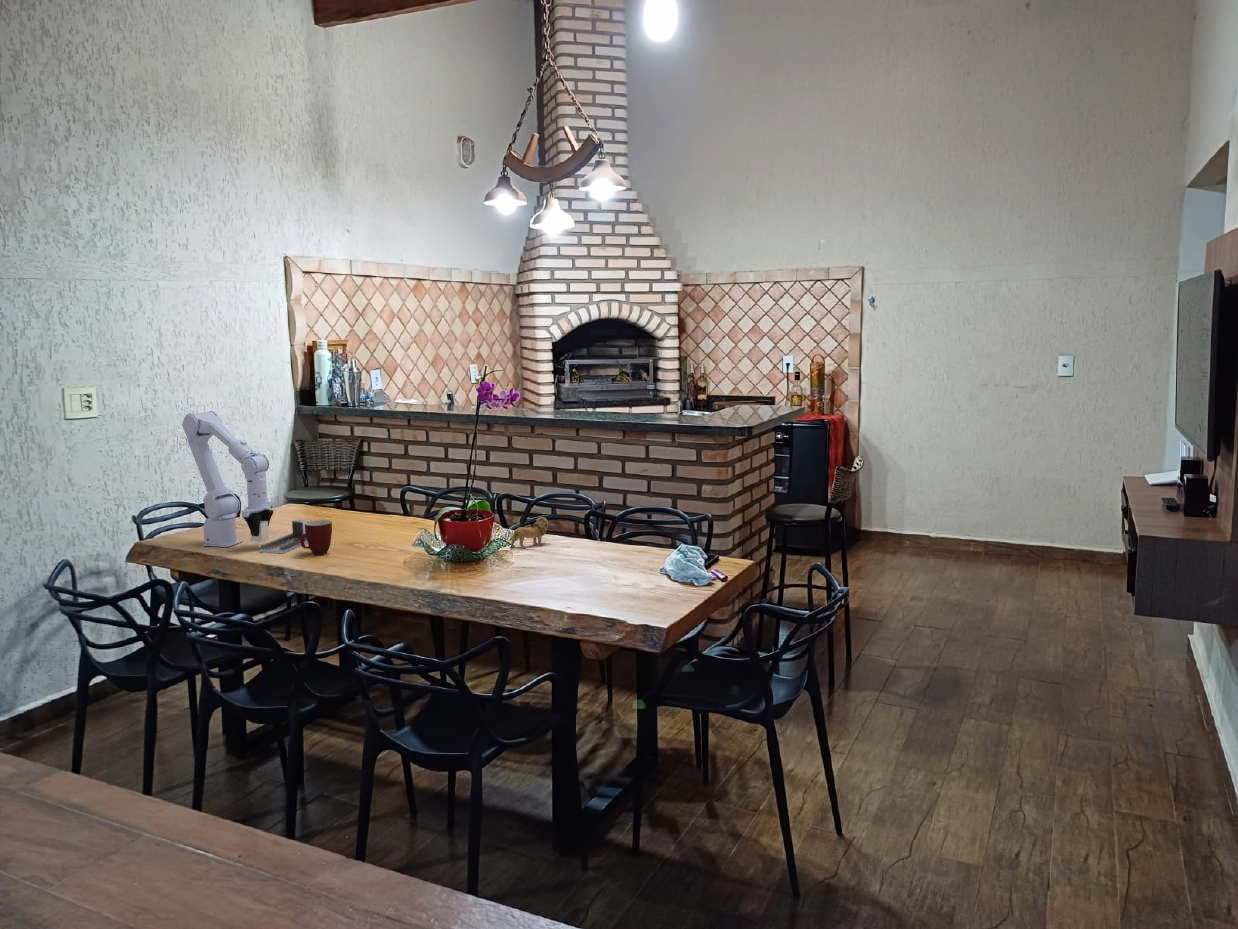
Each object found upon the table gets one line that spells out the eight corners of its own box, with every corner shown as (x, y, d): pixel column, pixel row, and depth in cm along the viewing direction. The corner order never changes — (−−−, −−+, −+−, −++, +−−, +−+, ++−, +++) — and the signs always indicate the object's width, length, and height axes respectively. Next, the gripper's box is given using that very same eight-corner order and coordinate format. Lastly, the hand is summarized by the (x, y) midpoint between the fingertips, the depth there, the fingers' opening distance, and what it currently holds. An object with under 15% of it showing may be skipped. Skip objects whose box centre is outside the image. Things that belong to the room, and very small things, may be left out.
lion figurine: (542, 541, 294) (542, 515, 292) (552, 544, 290) (551, 517, 288) (505, 548, 284) (504, 521, 283) (514, 551, 280) (514, 524, 279)
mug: (313, 560, 270) (311, 528, 269) (294, 557, 274) (292, 525, 273) (338, 552, 280) (337, 521, 278) (320, 549, 283) (318, 519, 282)
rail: (261, 552, 280) (259, 530, 279) (295, 538, 298) (293, 518, 297) (283, 553, 278) (282, 532, 277) (316, 539, 297) (315, 519, 295)
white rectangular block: (250, 541, 283) (249, 522, 282) (258, 538, 287) (257, 520, 286) (262, 541, 282) (261, 523, 281) (269, 539, 286) (268, 520, 285)
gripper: (254, 497, 274) (257, 540, 276) (281, 489, 288) (283, 529, 290) (234, 496, 275) (237, 539, 278) (262, 488, 289) (264, 528, 292)
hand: (259, 534), depth 284 cm, fingers closed on white rectangular block, 4 cm apart
